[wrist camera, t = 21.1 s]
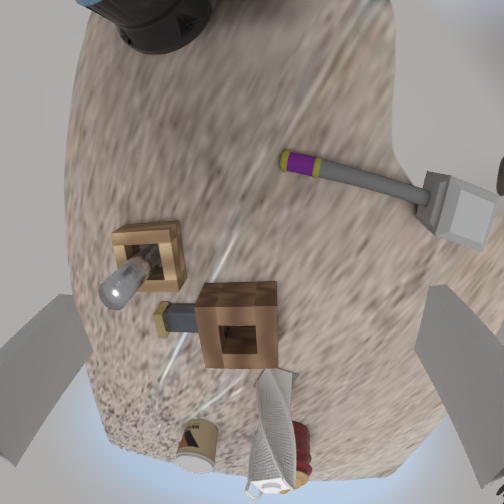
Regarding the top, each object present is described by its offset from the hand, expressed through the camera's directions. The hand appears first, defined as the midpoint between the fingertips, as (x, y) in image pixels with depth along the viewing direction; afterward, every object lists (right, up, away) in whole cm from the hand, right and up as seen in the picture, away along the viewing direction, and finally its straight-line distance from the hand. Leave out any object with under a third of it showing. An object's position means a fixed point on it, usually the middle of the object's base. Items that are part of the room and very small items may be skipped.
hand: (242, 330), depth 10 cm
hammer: (+20, +14, +33) cm, 41 cm away
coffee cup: (-12, -41, +56) cm, 70 cm away
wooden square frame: (-16, +3, +39) cm, 43 cm away
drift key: (-10, -8, +43) cm, 45 cm away
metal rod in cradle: (-16, +3, +39) cm, 43 cm away
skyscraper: (+5, -23, +48) cm, 53 cm away
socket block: (-1, -8, +42) cm, 43 cm away
